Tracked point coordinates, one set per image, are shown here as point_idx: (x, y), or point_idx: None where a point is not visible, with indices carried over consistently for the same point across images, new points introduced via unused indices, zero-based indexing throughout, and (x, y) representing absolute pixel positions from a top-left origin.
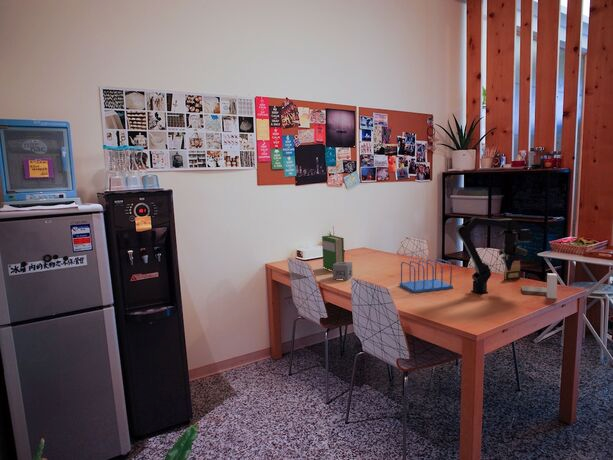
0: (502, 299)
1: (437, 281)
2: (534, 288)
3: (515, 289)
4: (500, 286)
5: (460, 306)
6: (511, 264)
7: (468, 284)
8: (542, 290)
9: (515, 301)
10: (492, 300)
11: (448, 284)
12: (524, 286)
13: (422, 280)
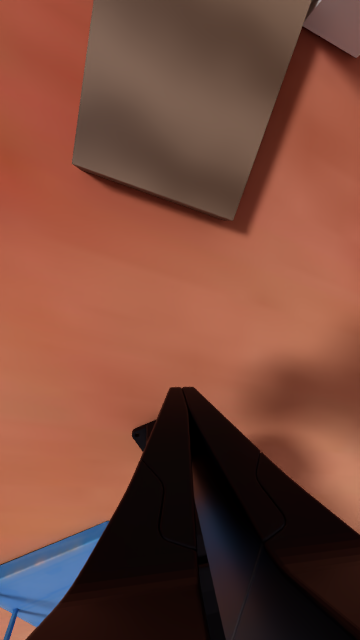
0: (308, 365)
1: (30, 583)
2: (172, 63)
3: (91, 223)
4: (12, 307)
5: (351, 502)
6: (275, 476)
7: (4, 466)
8: (250, 5)
9: (354, 315)
10: (312, 407)
11: (82, 549)
12: (98, 143)
13: (26, 619)
